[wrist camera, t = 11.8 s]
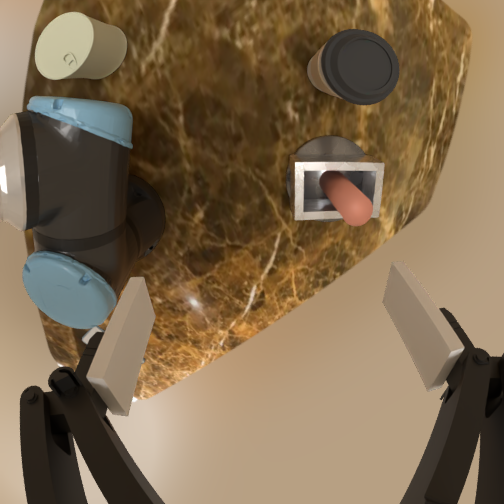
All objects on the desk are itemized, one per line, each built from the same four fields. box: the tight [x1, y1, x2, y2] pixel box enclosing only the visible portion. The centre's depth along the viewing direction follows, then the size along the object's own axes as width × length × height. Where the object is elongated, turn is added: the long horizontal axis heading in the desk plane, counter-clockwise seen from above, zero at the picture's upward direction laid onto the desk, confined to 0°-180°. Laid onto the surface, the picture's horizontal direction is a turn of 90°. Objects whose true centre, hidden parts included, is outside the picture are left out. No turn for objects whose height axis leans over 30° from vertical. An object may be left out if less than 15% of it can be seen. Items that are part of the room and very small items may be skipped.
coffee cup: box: [307, 29, 399, 105], centre depth 31 cm, size 9×9×15 cm
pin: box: [319, 170, 373, 226], centre depth 40 cm, size 4×4×12 cm
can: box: [35, 12, 127, 80], centre depth 29 cm, size 9×9×12 cm
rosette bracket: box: [286, 135, 384, 222], centre depth 43 cm, size 14×14×6 cm
